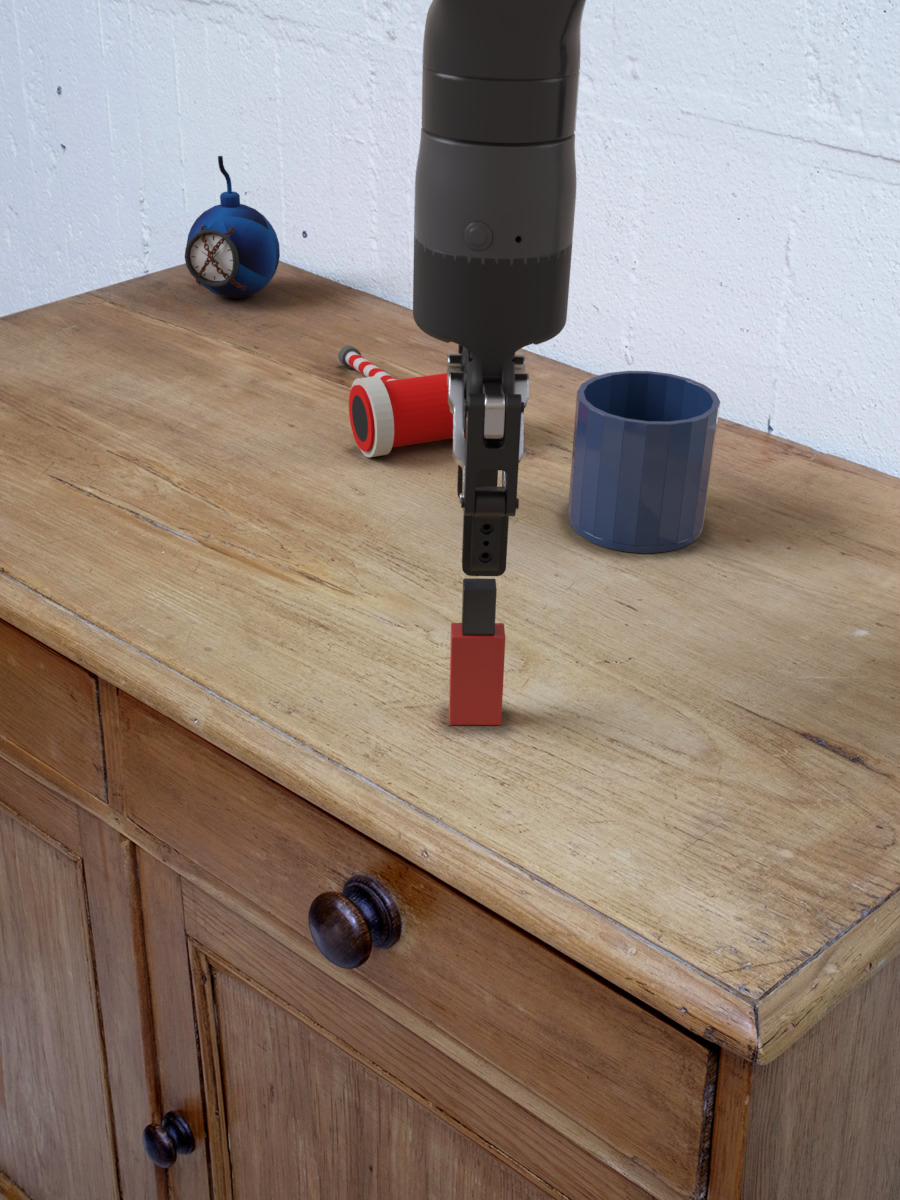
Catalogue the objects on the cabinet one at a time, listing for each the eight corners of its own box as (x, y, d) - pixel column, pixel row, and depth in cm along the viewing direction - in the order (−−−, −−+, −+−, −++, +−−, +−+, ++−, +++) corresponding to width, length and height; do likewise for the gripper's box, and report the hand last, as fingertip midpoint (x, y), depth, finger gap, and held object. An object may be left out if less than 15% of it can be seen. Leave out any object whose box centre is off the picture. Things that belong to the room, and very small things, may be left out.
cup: (689, 492, 103) (704, 371, 98) (714, 554, 94) (732, 424, 89) (562, 491, 102) (570, 369, 97) (575, 553, 94) (586, 423, 89)
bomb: (170, 307, 138) (157, 161, 131) (213, 278, 147) (203, 139, 140) (257, 317, 136) (248, 169, 129) (294, 287, 145) (289, 146, 138)
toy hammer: (287, 373, 123) (284, 307, 120) (404, 358, 127) (404, 293, 124) (374, 470, 105) (373, 395, 102) (506, 449, 109) (510, 376, 106)
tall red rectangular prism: (499, 709, 77) (506, 576, 72) (501, 725, 76) (508, 590, 71) (448, 709, 77) (451, 576, 72) (449, 725, 76) (452, 590, 71)
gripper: (589, 276, 56) (562, 603, 64) (558, 194, 68) (538, 477, 76) (413, 272, 56) (408, 601, 64) (414, 191, 68) (410, 475, 76)
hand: (479, 533), depth 70 cm, fingers open, 8 cm apart
